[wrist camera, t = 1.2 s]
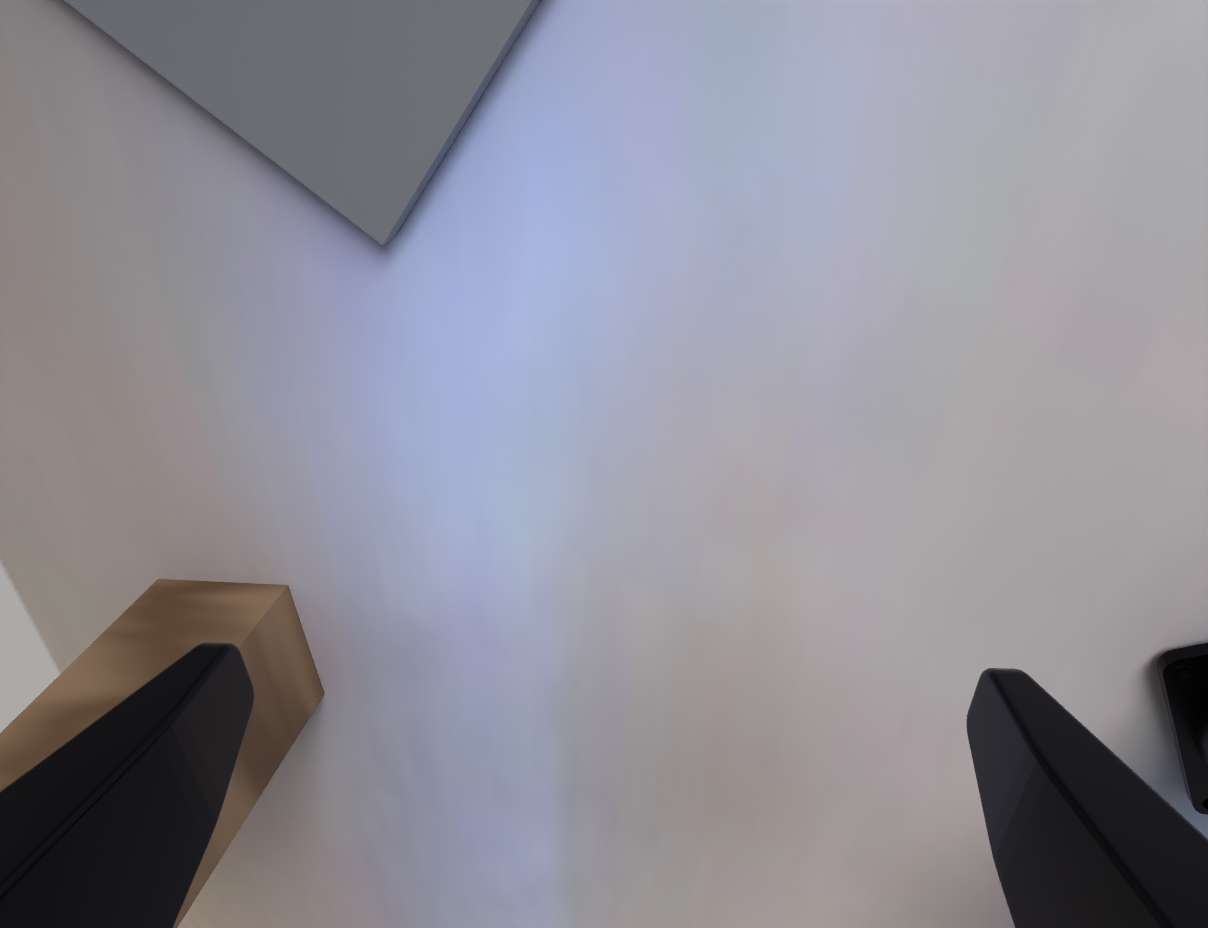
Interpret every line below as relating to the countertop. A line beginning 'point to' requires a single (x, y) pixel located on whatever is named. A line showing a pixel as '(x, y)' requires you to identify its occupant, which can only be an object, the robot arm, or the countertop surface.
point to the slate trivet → (330, 82)
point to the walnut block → (151, 644)
